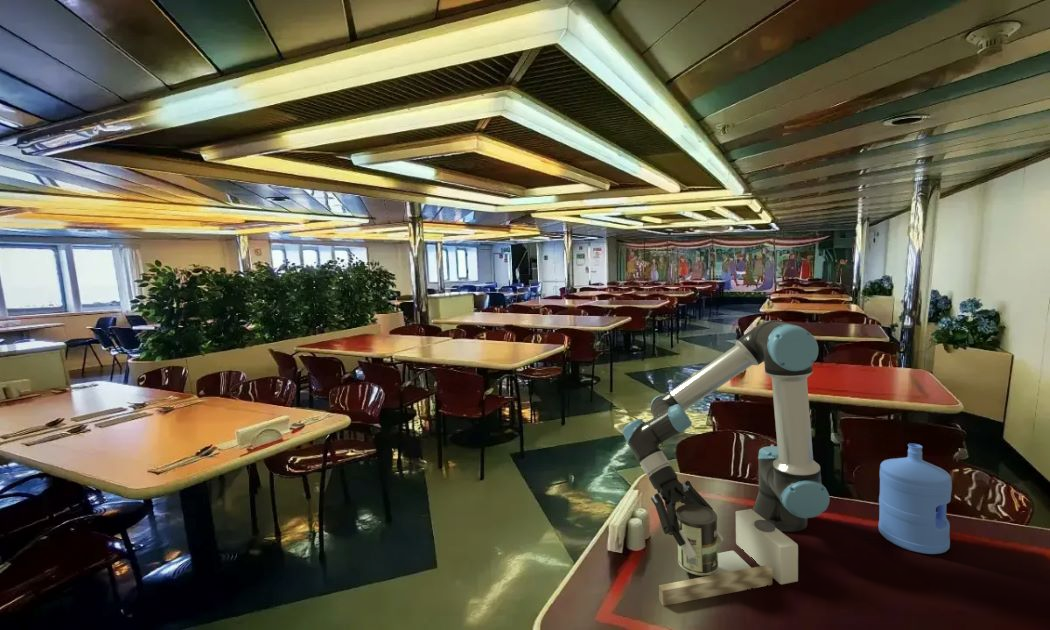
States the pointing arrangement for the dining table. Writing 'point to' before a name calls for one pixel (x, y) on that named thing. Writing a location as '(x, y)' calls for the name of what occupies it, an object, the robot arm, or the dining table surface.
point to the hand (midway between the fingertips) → (706, 549)
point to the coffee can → (698, 538)
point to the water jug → (914, 503)
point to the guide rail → (715, 585)
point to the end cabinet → (761, 548)
